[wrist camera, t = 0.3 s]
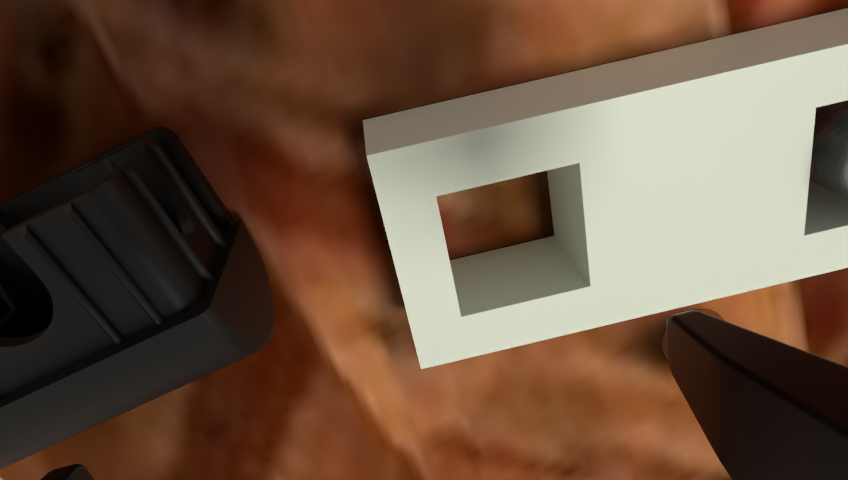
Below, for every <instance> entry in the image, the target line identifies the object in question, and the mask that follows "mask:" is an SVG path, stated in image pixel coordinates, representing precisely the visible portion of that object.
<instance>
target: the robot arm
mask: <svg viewBox="0 0 848 480" xmlns="http://www.w3.org/2000/svg"><path fill="white" fill-rule="evenodd" d="M666 332H667V354H668V363H669V367H670V370H671V373H672V375H673V377H674V379H675V380H676V382H677V384H678V386H679V388H680V390H681V391H682V393H683V395H684V397H685V399H686V401H687V402H688V404H689V406H690V408H691V410H692V412H693V413H694V415H695V417H696V419H697V421H698V422H699V424H700V426H701V428H702V430H703V432H704V433H705V435H706V437H707V439H708V441H709V443H710V444H711V446H712V448H713V450H714V451H715V453H716V455H717V457H718V458H719V460H720V462H721V463H722V465H723V466H724V468H725V469H726V471H727V472H728V474H729V475H730V477H731V478H732V480H848V367H846V366H843V365H841V364H838V363H835V362H833V361H830V360H827V359H825V358H822V357H819V356H817V355H814V354H811V353H809V352H806V351H803V350H801V349H798V348H795V347H793V346H790V345H787V344H785V343H782V342H779V341H777V340H774V339H772V338H769V337H766V336H764V335H761V334H758V333H756V332H753V331H750V330H748V329H745V328H742V327H740V326H737V325H734V324H732V323H729V322H726V321H724V320H721V319H718V318H716V317H713V316H710V315H708V314H705V313H702V312H700V311H696V310H690V311H686V312H682V313H678V314H674V315H671V316H670V317H669V318H668V319H667V323H666ZM41 480H94V479H93V477H92V476H91V474H90V473H89V471H88V470H87V468H86V467H84V466H83V465H81V464H74V465H70V466H66V467H62V468H58V469H55V470H52V471H50V472H49V473H48V474H46V475H45V476H44V477H43V478H42V479H41Z"/></svg>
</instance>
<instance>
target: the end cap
mask: <svg viewBox="0 0 848 480" xmlns="http://www.w3.org/2000/svg"><path fill="white" fill-rule="evenodd" d="M274 328H275V305H274V299H273V293H272V289H271V285H270V282H269V278H268V275H267V272H266V270H265V267H264V264H263V262H262V259H261V257H260V255H259V253H258V250H257V248H256V246H255V244H254V243H253V241H252V239H251V237H250V235H249V233H248V232H247V230H246V229H245V227H244V225H243V224H242V222H241V221H237V222H234V220H233V219H232V217H231V215H230V213H229V212H228V210H227V209H226V207H225V206H224V204H223V203H222V201H221V200H220V198H219V197H218V196H217V194H216V193H215V191H214V190H213V188H212V187H211V185H210V184H209V182H208V181H207V179H206V178H205V176H204V175H203V173H202V172H201V170H200V169H199V167H198V166H197V164H196V163H195V161H194V160H193V158H192V157H191V155H190V154H189V152H188V151H187V149H186V148H185V146H184V145H183V143H182V142H181V141H180V139H179V138H178V136H177V135H176V134H174V133H173V132H172V131H171V130H169V129H166V128H163V127H158V128H153V129H151V130H149V131H147V132H145V133H143V134H141V135H139V136H137V137H135V138H133V139H131V140H129V141H127V142H125V143H123V144H121V145H119V146H117V147H115V148H113V149H111V150H109V151H107V152H105V153H103V154H101V155H99V156H97V157H95V158H93V159H91V160H89V161H87V162H85V163H83V164H81V165H79V166H77V167H75V168H73V169H71V170H69V171H67V172H64V173H62V174H60V175H58V176H56V177H54V178H52V179H50V180H48V181H46V182H44V183H42V184H40V185H38V186H36V187H34V188H32V189H30V190H28V191H26V192H24V193H22V194H20V195H18V196H16V197H14V198H12V199H10V200H8V201H6V202H4V203H2V204H0V469H2V468H4V467H6V466H8V465H10V464H13V463H15V462H17V461H19V460H21V459H24V458H26V457H28V456H30V455H32V454H35V453H37V452H39V451H41V450H43V449H46V448H48V447H50V446H52V445H54V444H57V443H59V442H61V441H63V440H65V439H68V438H70V437H72V436H74V435H76V434H79V433H81V432H83V431H85V430H87V429H90V428H92V427H94V426H96V425H98V424H100V423H103V422H105V421H107V420H109V419H111V418H114V417H116V416H118V415H120V414H122V413H125V412H127V411H129V410H131V409H133V408H136V407H138V406H140V405H142V404H144V403H147V402H149V401H151V400H153V399H155V398H158V397H160V396H162V395H164V394H166V393H169V392H171V391H173V390H175V389H177V388H180V387H182V386H184V385H186V384H188V383H191V382H193V381H195V380H197V379H199V378H201V377H204V376H206V375H208V374H210V373H212V372H215V371H217V370H219V369H221V368H223V367H226V366H228V365H230V364H232V363H234V362H237V361H239V360H241V359H243V358H245V357H248V356H250V355H252V354H254V353H256V352H258V351H260V350H262V349H263V348H265V347H266V345H267V344H268V342H269V341H270V340H271V338H272V334H273V331H274Z"/></svg>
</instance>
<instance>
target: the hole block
mask: <svg viewBox="0 0 848 480" xmlns="http://www.w3.org/2000/svg"><path fill="white" fill-rule="evenodd" d="M847 100H848V8H846V9H841V10H837V11H833V12H828V13H824V14H820V15H815V16H811V17H807V18H802V19H798V20H794V21H789V22H785V23H781V24H776V25H772V26H768V27H763V28H759V29H755V30H750V31H746V32H742V33H737V34H733V35H729V36H724V37H720V38H716V39H712V40H707V41H703V42H699V43H694V44H690V45H686V46H681V47H677V48H673V49H668V50H664V51H660V52H655V53H651V54H647V55H642V56H638V57H634V58H629V59H625V60H621V61H616V62H612V63H608V64H603V65H599V66H595V67H590V68H586V69H582V70H577V71H573V72H569V73H565V74H560V75H556V76H552V77H547V78H543V79H539V80H534V81H530V82H526V83H521V84H517V85H513V86H508V87H504V88H500V89H495V90H491V91H487V92H482V93H478V94H474V95H469V96H465V97H461V98H456V99H452V100H448V101H443V102H439V103H435V104H431V105H426V106H422V107H418V108H413V109H409V110H405V111H400V112H396V113H392V114H387V115H383V116H379V117H374V118H370V119H366V120H363V128H364V138H365V148H366V156H367V160H368V164H369V168H370V172H371V176H372V180H373V184H374V188H375V191H376V195H377V199H378V203H379V207H380V211H381V215H382V219H383V223H384V227H385V230H386V234H387V238H388V242H389V246H390V250H391V254H392V258H393V262H394V265H395V269H396V273H397V277H398V281H399V285H400V289H401V293H402V297H403V300H404V304H405V308H406V312H407V316H408V320H409V324H410V328H411V332H412V335H413V339H414V343H415V347H416V351H417V355H418V359H419V363H420V367H421V369H424V368H428V367H433V366H437V365H441V364H445V363H449V362H454V361H458V360H462V359H466V358H470V357H475V356H479V355H483V354H487V353H491V352H496V351H500V350H504V349H508V348H512V347H517V346H521V345H525V344H529V343H533V342H538V341H542V340H546V339H550V338H554V337H559V336H563V335H567V334H571V333H575V332H580V331H584V330H588V329H592V328H596V327H601V326H605V325H609V324H613V323H617V322H622V321H626V320H630V319H634V318H638V317H643V316H647V315H651V314H655V313H659V312H664V311H668V310H672V309H676V308H680V307H685V306H689V305H693V304H697V303H701V302H706V301H710V300H714V299H718V298H722V297H727V296H731V295H735V294H739V293H743V292H748V291H752V290H756V289H760V288H764V287H769V286H773V285H777V284H781V283H785V282H790V281H794V280H798V279H802V278H806V277H810V276H815V275H819V274H823V273H827V272H831V271H836V270H840V269H844V268H848V200H847V199H845V198H843V197H841V196H839V195H837V194H835V193H833V192H831V191H829V190H827V189H825V188H823V187H821V186H820V185H818V184H816V183H814V182H812V181H810V180H809V178H810V167H811V157H812V146H813V136H814V125H815V114H816V108H817V107H821V106H825V105H830V104H834V103H838V102H842V101H847ZM543 171H547V177H548V185H549V194H550V203H551V211H552V220H553V229H554V236H551V237H547V238H543V239H538V240H534V241H530V242H526V243H521V244H517V245H513V246H509V247H504V248H500V249H496V250H492V251H487V252H483V253H479V254H475V255H470V256H466V257H462V258H458V259H453V260H449V255H448V251H447V246H446V241H445V236H444V231H443V227H442V222H441V217H440V212H439V208H438V203H437V198H436V196H440V195H445V194H449V193H453V192H457V191H462V190H466V189H470V188H475V187H479V186H483V185H487V184H492V183H496V182H500V181H505V180H509V179H513V178H517V177H522V176H526V175H530V174H534V173H539V172H543Z"/></svg>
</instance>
